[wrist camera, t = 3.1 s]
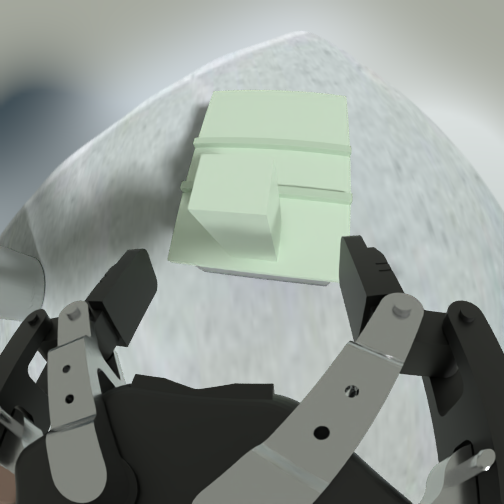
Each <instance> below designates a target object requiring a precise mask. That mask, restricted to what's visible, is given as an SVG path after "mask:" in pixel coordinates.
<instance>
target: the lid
mask: <svg viewBox="0 0 504 504" xmlns="http://www.w3.org/2000/svg"><path fill="white" fill-rule="evenodd" d="M193 145H194V147H195V150H194V154H193V157H192V161H191V164H190V168H189V171H188V175H187V179H186V181H182V183H181V187H180V189H181V190H182V191H183V194H182V198H181V202H180V206H179V210H178V214H177V218H176V223H175V227H174V232H173V236H172V241H171V245H170V250H169V255H168V261H170V262H172V263H179V264H186V265H194V266H201V267H209V268H216V269H224V270H232V271H240V272H248V273H256V274H265V275H273V276H282V277H290V278H299V279H308V280H317V281H327V282H336V283H339V260H340V242H341V237H342V236H350V205H351V203H352V193H351V176H350V155H351V146H350V143H349V125H348V112H347V100H346V96H340V95H332V94H323V93H312V92H299V91H280V90H231V91H214V92H213V95H212V97H211V100H210V103H209V106H208V109H207V112H206V115H205V118H204V121H203V124H202V128H201V131H200V134H199V137H198V138H195V139H194V142H193Z"/></svg>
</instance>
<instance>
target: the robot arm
mask: <svg viewBox="0 0 504 504" xmlns="http://www.w3.org/2000/svg"><path fill="white" fill-rule="evenodd" d="M339 283H340V288H341V292H342V295H343V299H344V303H345V307H346V311H347V315H348V318H349V323H350V327H351V331H352V335H353V339H354V342H353V341H349V342H348V343H347V344H346V346H345V347H344V348H343V350H342V351H341V352H340V354H339V355H338V356H337V358H336V359H335V360H334V362H333V363H332V364H331V366H330V367H329V368H328V370H327V371H326V372H325V374H324V375H323V376H322V377H321V379H320V380H319V381H318V382H317V384H316V385H315V386H314V387H313V389H312V390H311V391H310V392H309V393H308V395H307V396H306V397H305V398H304V399H303V401H302V402H301V403H299V402H298V401H295V400H293V399H291V398H288V397H285V396H281V395H277V394H274V385H273V384H237V383H235V384H230V385H224V386H218V387H211V388H204V389H193V388H190V387H187V386H184V385H182V384H179V383H176V382H173V381H171V380H168V379H166V378H160V377H152V376H145V375H139V374H135V376H134V379H133V381H132V384H126V382H125V379H124V376H123V372H122V369H121V365H120V362H119V358H118V355H117V353H116V351H115V350H114V349H115V347H116V346H124V347H128V345H129V343H130V341H131V339H132V337H133V335H134V333H135V331H136V329H137V327H138V326H139V324H140V322H141V320H142V318H143V316H144V314H145V312H146V310H147V308H148V306H149V304H150V303H151V301H152V299H153V297H154V295H155V293H156V291H157V279H156V276H155V273H154V270H153V267H152V264H151V261H150V258H149V255H148V253H147V251H146V250H145V249H132V250H127V251H126V253H125V254H124V255H123V256H122V257H121V259H120V260H119V261H118V262H117V263H116V264H115V265H114V266H112V267H111V268H110V269H109V270H108V272H107V273H106V274H105V277H103V278H102V279H101V280H100V283H98V284H97V285H96V287H95V288H94V289H93V291H92V292H91V293H90V295H89V296H88V297H87V299H86V300H85V301H76V302H73V303H71V304H69V305H68V306H66V307H65V308H64V309H63V310H62V311H61V313H60V315H59V317H57V318H52V319H50V318H49V316H48V315H47V313H46V311H45V310H43V309H41V306H42V302H43V297H44V274H43V270H42V267H41V264H40V263H39V261H38V260H37V259H36V258H34V257H31V256H28V255H25V254H22V253H20V252H17V251H14V250H12V249H9V248H6V247H4V246H1V245H0V319H6V320H15V321H23V322H22V324H21V325H20V326H19V328H18V329H17V331H16V332H15V333H14V335H13V336H12V338H11V339H10V341H9V342H8V344H7V345H6V347H5V348H4V350H3V352H2V353H1V355H0V465H1V466H3V467H4V468H6V469H8V470H9V471H10V472H12V473H13V474H14V475H15V486H16V504H412V502H411V501H409V500H408V499H407V498H406V497H405V496H403V495H402V494H401V493H400V492H399V491H397V490H396V489H395V488H394V487H393V486H392V485H390V484H389V483H388V482H387V481H386V480H385V479H383V478H382V477H381V476H380V475H379V474H378V473H377V472H376V471H374V470H373V469H372V468H371V467H370V466H369V465H368V464H367V463H366V462H365V461H363V460H362V459H361V458H360V457H359V456H358V455H357V454H356V453H355V452H354V450H355V449H356V448H357V446H358V445H359V443H360V442H361V440H362V439H363V437H364V435H365V434H366V432H367V431H368V429H369V428H370V426H371V424H372V423H373V421H374V419H375V418H376V416H377V414H378V413H379V411H380V409H381V407H382V406H383V404H384V402H385V400H386V398H387V396H388V395H389V393H390V391H391V389H392V387H393V385H394V383H395V381H396V379H397V377H398V375H399V373H400V374H408V375H417V376H422V379H423V383H424V387H425V391H426V395H427V399H428V404H429V408H430V413H431V418H432V423H433V428H434V434H435V440H436V446H437V453H438V460H439V463H438V464H437V465H436V466H435V467H434V468H433V469H432V470H431V472H430V474H429V475H428V478H427V481H426V490H425V494H424V496H423V498H422V500H421V501H420V503H419V504H504V353H503V351H502V349H501V347H500V345H499V343H498V341H497V339H496V337H495V335H494V333H493V331H492V329H491V327H490V325H489V324H488V322H487V320H486V318H485V316H484V315H483V313H482V312H481V310H480V309H479V308H478V307H477V306H475V305H474V304H472V303H470V302H467V301H455V302H453V303H452V304H451V305H450V306H449V308H448V310H447V312H446V313H441V312H433V311H426V310H424V309H423V306H422V304H421V303H420V302H419V301H418V300H417V299H416V298H415V297H413V296H411V295H409V294H405V293H404V292H403V290H402V288H401V286H400V284H399V282H398V280H397V278H396V276H395V275H394V273H393V271H392V270H391V267H390V265H389V264H388V262H387V260H386V258H385V257H384V255H383V254H382V253H381V252H380V251H378V250H377V249H376V248H374V247H371V248H367V246H366V244H365V242H364V241H363V239H362V237H361V236H360V235H359V236H342V237H341V242H340V260H339ZM37 350H38V351H39V352H40V354H41V355H42V356H43V358H44V359H45V360H46V361H47V363H46V365H45V367H44V369H43V371H42V373H41V375H40V377H39V378H38V380H37V382H36V383H35V382H34V381H33V380H32V379H31V378H30V377H29V374H28V365H29V363H30V362H31V360H32V358H33V357H34V355H35V353H36V352H37ZM50 425H51V430H50V431H49V432H48V430H49V427H50Z"/></svg>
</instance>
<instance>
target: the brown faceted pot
mask: <svg viewBox="0 0 504 504" xmlns="http://www.w3.org/2000/svg"><path fill="white" fill-rule="evenodd" d="M0 504H16V486H15V475H14V474H13V473H12V472H10V471H9V470H8V469H6V468H4V467H3V466H1V465H0Z"/></svg>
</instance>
